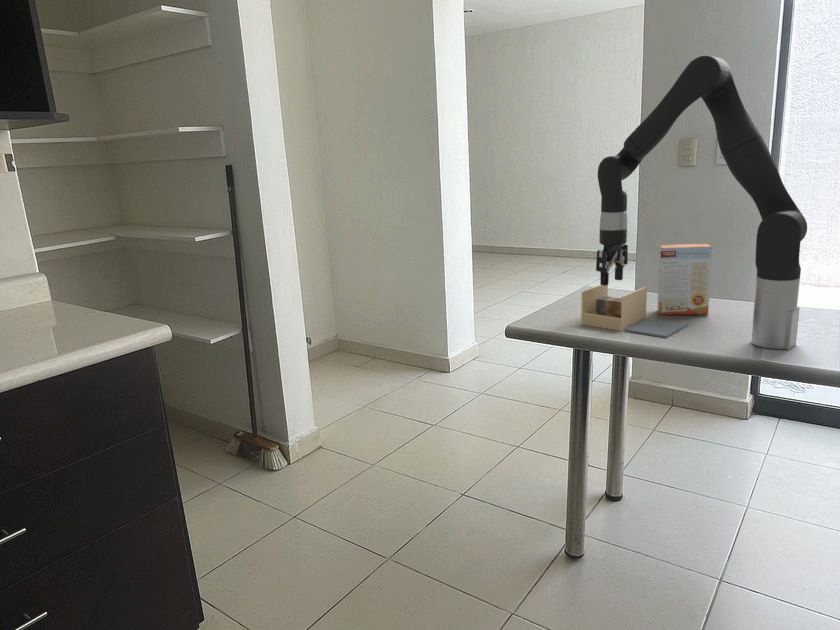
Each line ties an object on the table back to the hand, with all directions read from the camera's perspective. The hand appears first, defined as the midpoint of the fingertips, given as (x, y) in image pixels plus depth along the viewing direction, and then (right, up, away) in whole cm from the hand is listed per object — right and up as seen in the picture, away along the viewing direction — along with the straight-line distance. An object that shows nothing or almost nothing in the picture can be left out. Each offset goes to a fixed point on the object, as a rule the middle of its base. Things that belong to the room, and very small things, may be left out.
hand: (611, 282), depth 178 cm
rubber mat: (+10, -13, -7) cm, 18 cm away
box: (+1, -12, +2) cm, 12 cm away
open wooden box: (+1, -12, +2) cm, 12 cm away
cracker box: (+24, -9, +8) cm, 27 cm away
